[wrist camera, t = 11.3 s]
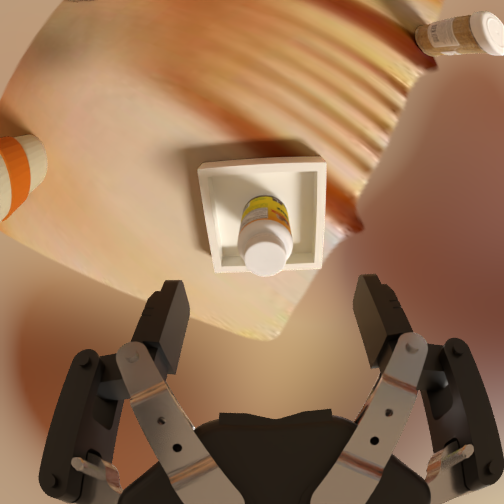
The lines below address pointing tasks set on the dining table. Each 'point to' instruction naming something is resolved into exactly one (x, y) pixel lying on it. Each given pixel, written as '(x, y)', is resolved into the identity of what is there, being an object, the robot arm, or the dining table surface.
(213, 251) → the tray
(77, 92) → the dining table surface
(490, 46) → the sprinkles bottle
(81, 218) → the dining table surface
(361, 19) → the dining table surface
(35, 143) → the reusable coffee cup
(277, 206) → the supplement bottle
